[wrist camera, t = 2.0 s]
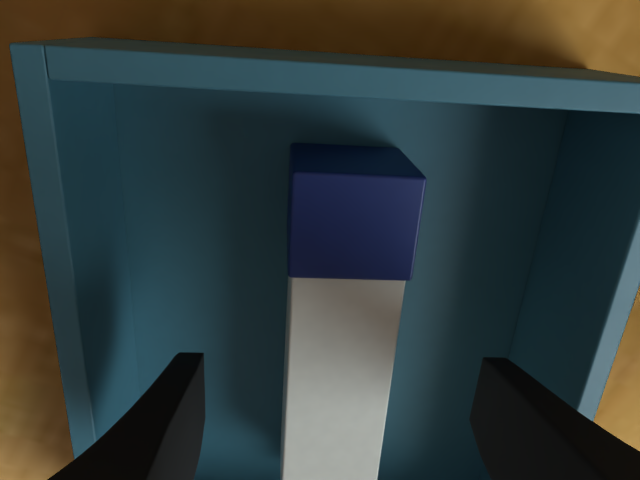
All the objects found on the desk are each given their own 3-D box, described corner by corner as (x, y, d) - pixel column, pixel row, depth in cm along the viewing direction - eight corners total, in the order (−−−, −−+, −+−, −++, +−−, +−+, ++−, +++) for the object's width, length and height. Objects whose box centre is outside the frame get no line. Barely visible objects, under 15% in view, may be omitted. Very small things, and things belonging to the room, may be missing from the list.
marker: (360, 466, 19) (373, 543, 16) (276, 467, 18) (275, 545, 16) (399, 147, 14) (428, 177, 11) (290, 141, 14) (292, 171, 11)
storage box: (136, 505, 19) (99, 627, 15) (89, 36, 13) (7, 42, 9) (481, 501, 20) (528, 614, 16) (591, 69, 14) (708, 86, 10)
